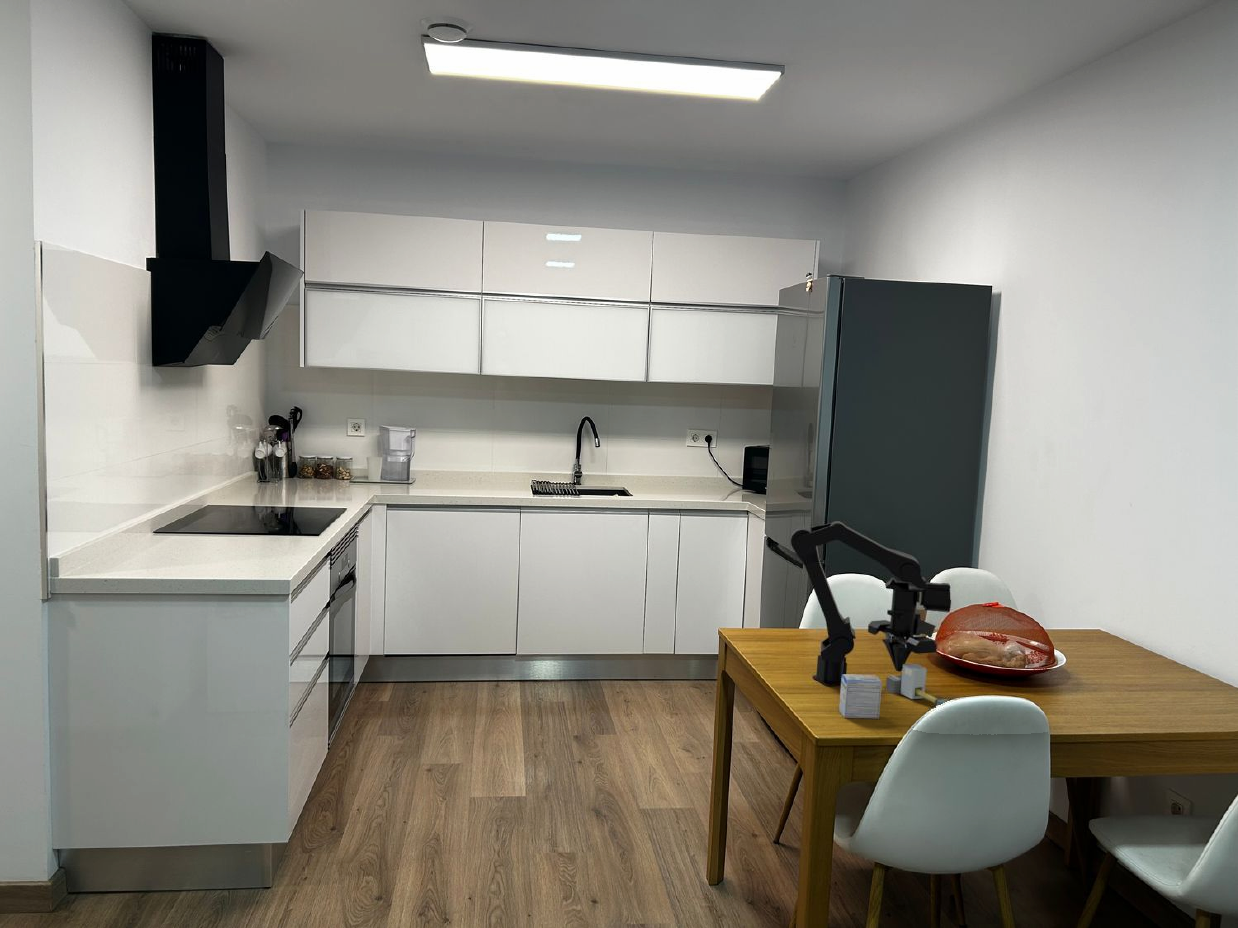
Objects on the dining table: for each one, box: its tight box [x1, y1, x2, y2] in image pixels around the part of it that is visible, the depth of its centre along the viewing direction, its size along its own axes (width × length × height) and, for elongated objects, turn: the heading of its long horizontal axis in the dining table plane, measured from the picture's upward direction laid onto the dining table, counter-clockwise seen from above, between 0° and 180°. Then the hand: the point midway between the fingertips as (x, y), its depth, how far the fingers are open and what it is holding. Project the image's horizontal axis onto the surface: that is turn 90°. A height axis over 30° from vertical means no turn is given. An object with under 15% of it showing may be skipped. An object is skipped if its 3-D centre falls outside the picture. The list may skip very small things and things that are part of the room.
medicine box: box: [838, 673, 883, 720], centre depth 204 cm, size 8×4×9 cm, turn 92°
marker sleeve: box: [900, 662, 927, 700], centre depth 218 cm, size 4×4×7 cm
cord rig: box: [885, 673, 951, 706], centre depth 215 cm, size 6×19×4 cm, turn 22°
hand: (898, 670), depth 223 cm, fingers closed
